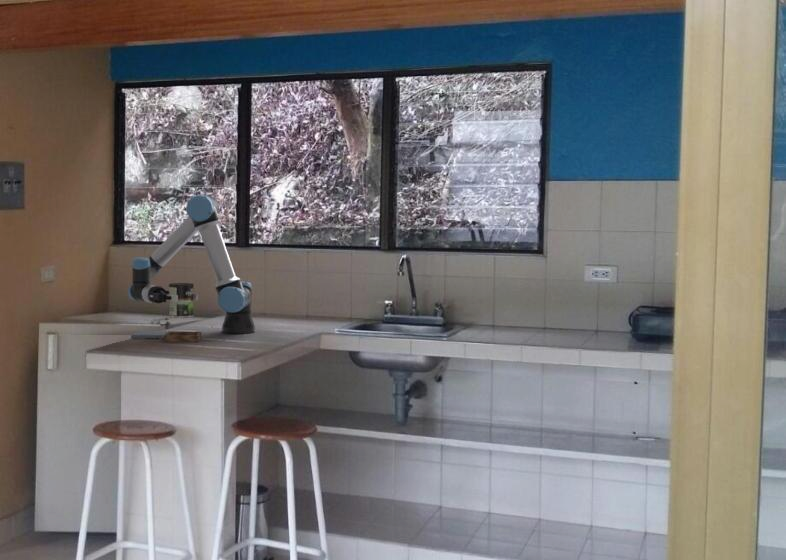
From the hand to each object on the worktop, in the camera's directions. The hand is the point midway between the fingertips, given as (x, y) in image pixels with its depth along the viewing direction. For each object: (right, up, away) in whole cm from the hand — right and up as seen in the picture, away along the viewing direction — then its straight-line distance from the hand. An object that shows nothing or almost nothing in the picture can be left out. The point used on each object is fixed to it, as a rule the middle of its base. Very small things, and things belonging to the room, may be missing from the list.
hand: (187, 297), depth 389 cm
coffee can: (-3, -8, +3) cm, 9 cm away
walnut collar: (-3, -18, +3) cm, 18 cm away
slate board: (-19, -17, +10) cm, 28 cm away
